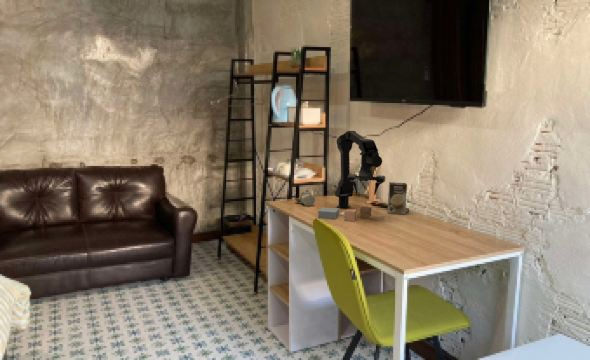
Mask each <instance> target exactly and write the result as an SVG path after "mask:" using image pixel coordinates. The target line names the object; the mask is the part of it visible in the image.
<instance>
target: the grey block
mask: <svg viewBox="0 0 590 360" xmlns="http://www.w3.org/2000/svg"><path fill="white" fill-rule="evenodd" d="M317 215H318V219H324V220H325V219H326V220H337V219H338V217H339V216H340V208H337V207H336V208H334V207H323V206H322V207H321V208H320V209H319V210H317Z"/></svg>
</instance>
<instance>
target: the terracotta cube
mask: <svg viewBox="0 0 590 360" xmlns="http://www.w3.org/2000/svg"><path fill="white" fill-rule="evenodd" d="M344 212H345V216H344V218H343V219H344V222H355V221H356V220H357V212H358V211H357V209H351V208H345V210H344Z"/></svg>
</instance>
